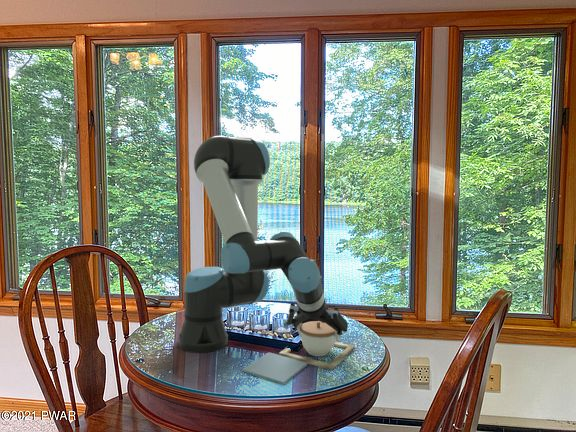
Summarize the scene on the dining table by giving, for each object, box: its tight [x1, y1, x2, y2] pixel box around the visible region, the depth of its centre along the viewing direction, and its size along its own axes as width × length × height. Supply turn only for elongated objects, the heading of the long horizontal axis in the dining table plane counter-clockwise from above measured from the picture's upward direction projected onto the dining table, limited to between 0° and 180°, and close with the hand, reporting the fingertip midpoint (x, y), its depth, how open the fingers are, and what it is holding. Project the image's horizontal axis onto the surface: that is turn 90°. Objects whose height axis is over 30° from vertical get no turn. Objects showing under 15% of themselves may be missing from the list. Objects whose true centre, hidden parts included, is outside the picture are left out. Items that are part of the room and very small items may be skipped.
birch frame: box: [278, 341, 355, 371], centre depth 123 cm, size 17×17×1 cm
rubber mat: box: [241, 351, 308, 385], centre depth 112 cm, size 13×13×1 cm
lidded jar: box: [300, 321, 336, 357], centre depth 123 cm, size 11×11×9 cm
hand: (319, 335), depth 126 cm, fingers closed on lidded jar, 11 cm apart
